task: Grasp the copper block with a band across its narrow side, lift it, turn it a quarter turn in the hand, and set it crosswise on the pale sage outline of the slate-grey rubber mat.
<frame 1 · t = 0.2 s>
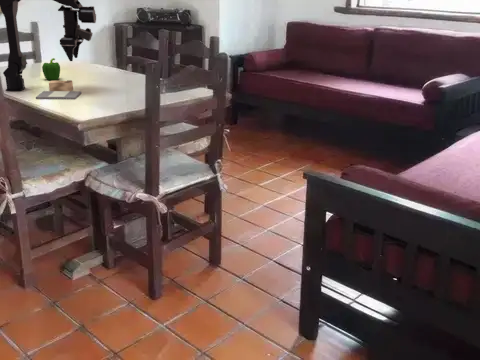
hand: (73, 59, 238), 14 cm above the table, fingers open, 9 cm apart
mat: (59, 96, 231), on the table
copper block with band: (61, 90, 242), on the table
bell pepper: (52, 80, 264), on the table
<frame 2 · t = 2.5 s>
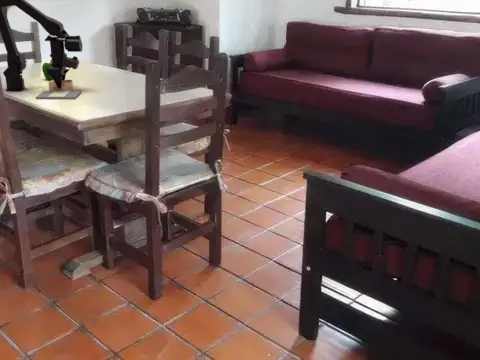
hand: (61, 87, 242), 1 cm above the table, fingers closed on copper block with band, 5 cm apart
copper block with band: (61, 90, 242), on the table, touching gripper
everything else where it was.
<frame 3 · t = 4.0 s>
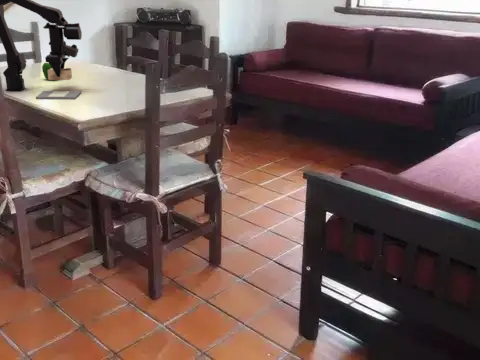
hand: (60, 75, 240), 6 cm above the table, fingers closed on copper block with band, 5 cm apart
copper block with band: (60, 78, 240), point 5 cm above the table, touching gripper
everything else where it was.
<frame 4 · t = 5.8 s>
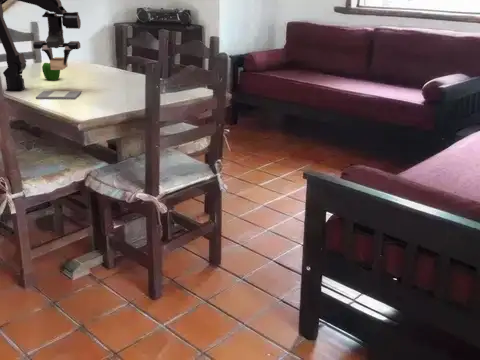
hand: (59, 65, 238), 11 cm above the table, fingers closed on copper block with band, 5 cm apart
copper block with band: (59, 68, 239), point 10 cm above the table, touching gripper
everything else where it was.
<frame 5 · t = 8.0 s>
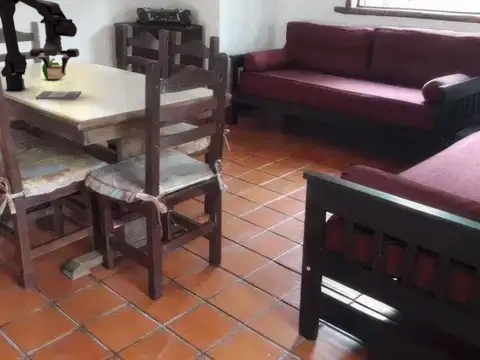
hand: (56, 73, 228), 9 cm above the table, fingers closed on copper block with band, 5 cm apart
copper block with band: (57, 76, 228), point 8 cm above the table, touching gripper
everything else where it was.
when the fingers open (3 cm above the table, at t = 9.6 s): copper block with band drops 1 cm, resting on mat.
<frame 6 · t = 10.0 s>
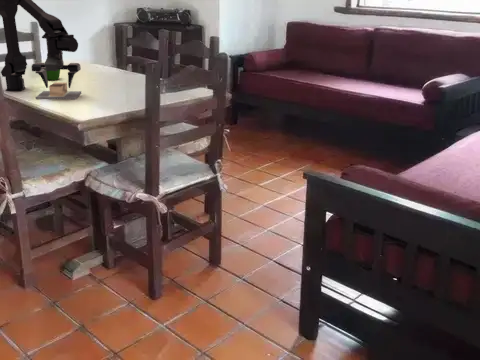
hand: (58, 87, 230), 3 cm above the table, fingers open, 9 cm apart
copper block with band: (59, 93, 231), point 1 cm above the table, touching mat
everything else where it was.
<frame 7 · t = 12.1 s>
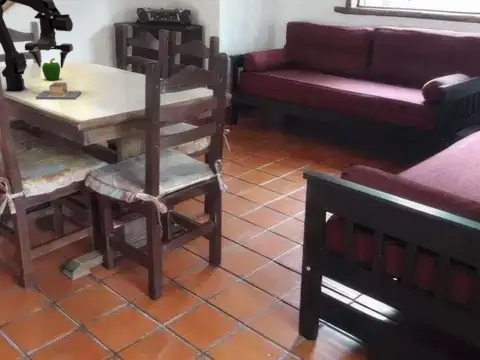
hand: (50, 67, 234), 11 cm above the table, fingers open, 9 cm apart
nothing on the table moved.
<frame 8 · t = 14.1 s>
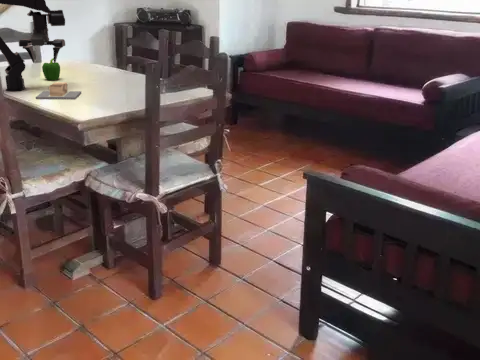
hand: (44, 62, 243), 11 cm above the table, fingers open, 9 cm apart
nothing on the table moved.
at the end: copper block with band 0.1 cm off-centre on the mat, point 0.9 cm above the mat's base; copper block with band tilted 0°; the gripper is holding nothing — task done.
